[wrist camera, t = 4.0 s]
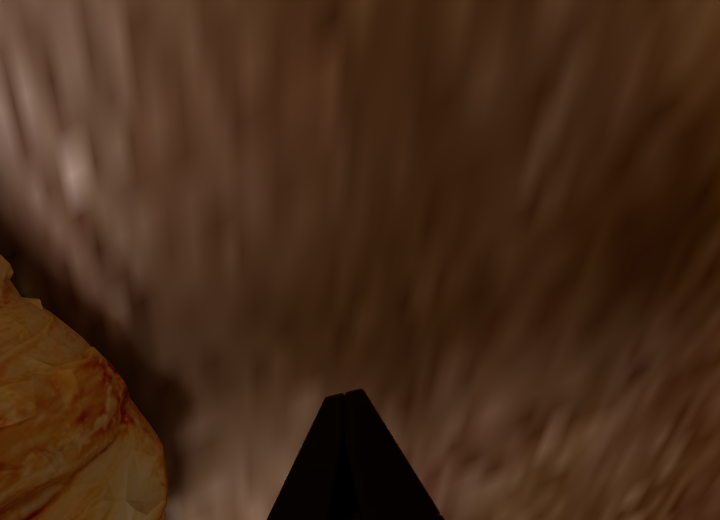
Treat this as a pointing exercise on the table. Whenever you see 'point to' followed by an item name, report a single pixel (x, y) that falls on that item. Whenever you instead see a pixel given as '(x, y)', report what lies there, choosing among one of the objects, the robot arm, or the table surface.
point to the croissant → (69, 425)
